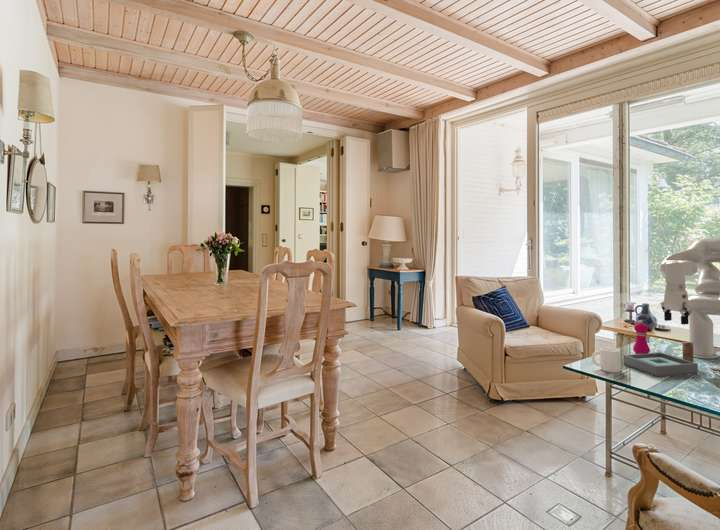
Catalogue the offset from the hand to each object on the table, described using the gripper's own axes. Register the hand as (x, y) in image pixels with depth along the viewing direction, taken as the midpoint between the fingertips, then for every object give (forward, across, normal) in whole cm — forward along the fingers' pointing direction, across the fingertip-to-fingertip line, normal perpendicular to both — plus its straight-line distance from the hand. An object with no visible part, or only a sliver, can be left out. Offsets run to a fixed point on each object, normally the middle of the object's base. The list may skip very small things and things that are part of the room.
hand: (676, 322), depth 193 cm
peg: (+22, -2, -3) cm, 22 cm away
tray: (+22, -3, +12) cm, 25 cm away
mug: (+22, +1, +35) cm, 41 cm away
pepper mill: (+22, +16, +5) cm, 28 cm away
